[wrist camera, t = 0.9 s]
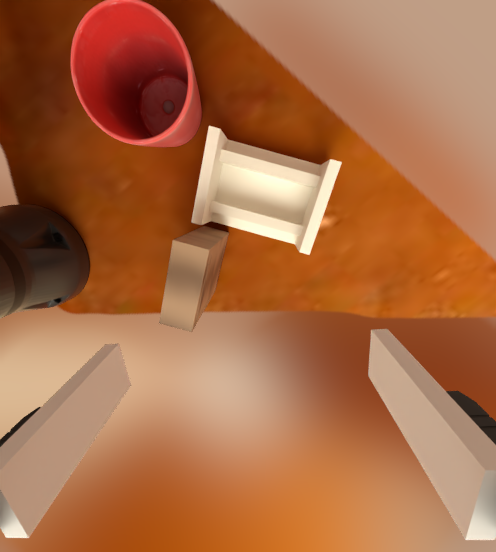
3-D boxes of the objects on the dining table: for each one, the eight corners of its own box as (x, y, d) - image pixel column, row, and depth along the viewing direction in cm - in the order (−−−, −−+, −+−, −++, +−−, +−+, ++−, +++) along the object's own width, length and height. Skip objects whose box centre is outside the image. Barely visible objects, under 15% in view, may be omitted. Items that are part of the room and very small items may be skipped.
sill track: (204, 218, 34) (191, 222, 28) (219, 138, 31) (209, 125, 25) (302, 245, 34) (309, 254, 29) (328, 168, 31) (341, 162, 25)
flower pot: (171, 33, 28) (124, -45, 19) (232, 119, 30) (217, 85, 21) (111, 103, 31) (44, 64, 22) (171, 177, 33) (133, 170, 24)
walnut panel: (215, 290, 37) (192, 332, 26) (192, 284, 37) (158, 323, 26) (229, 232, 35) (209, 250, 23) (204, 225, 35) (172, 239, 23)
